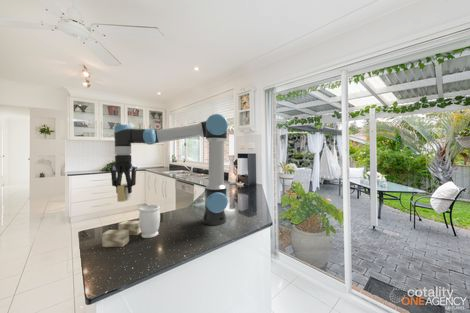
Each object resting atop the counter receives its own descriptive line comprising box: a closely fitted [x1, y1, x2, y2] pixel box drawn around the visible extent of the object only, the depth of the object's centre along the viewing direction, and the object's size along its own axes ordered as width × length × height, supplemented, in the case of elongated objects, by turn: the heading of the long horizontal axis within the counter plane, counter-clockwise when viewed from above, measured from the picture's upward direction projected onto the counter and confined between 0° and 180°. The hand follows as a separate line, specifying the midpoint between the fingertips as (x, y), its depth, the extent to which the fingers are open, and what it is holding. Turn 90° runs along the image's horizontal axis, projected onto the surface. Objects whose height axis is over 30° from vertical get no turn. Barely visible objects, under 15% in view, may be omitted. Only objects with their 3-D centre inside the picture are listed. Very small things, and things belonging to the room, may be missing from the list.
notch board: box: [101, 220, 142, 248], centre depth 104 cm, size 10×18×6 cm, turn 179°
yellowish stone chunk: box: [116, 183, 128, 203], centre depth 106 cm, size 4×6×8 cm, turn 0°
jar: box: [138, 204, 161, 239], centre depth 108 cm, size 11×10×15 cm
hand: (124, 199), depth 106 cm, fingers closed on yellowish stone chunk, 3 cm apart
